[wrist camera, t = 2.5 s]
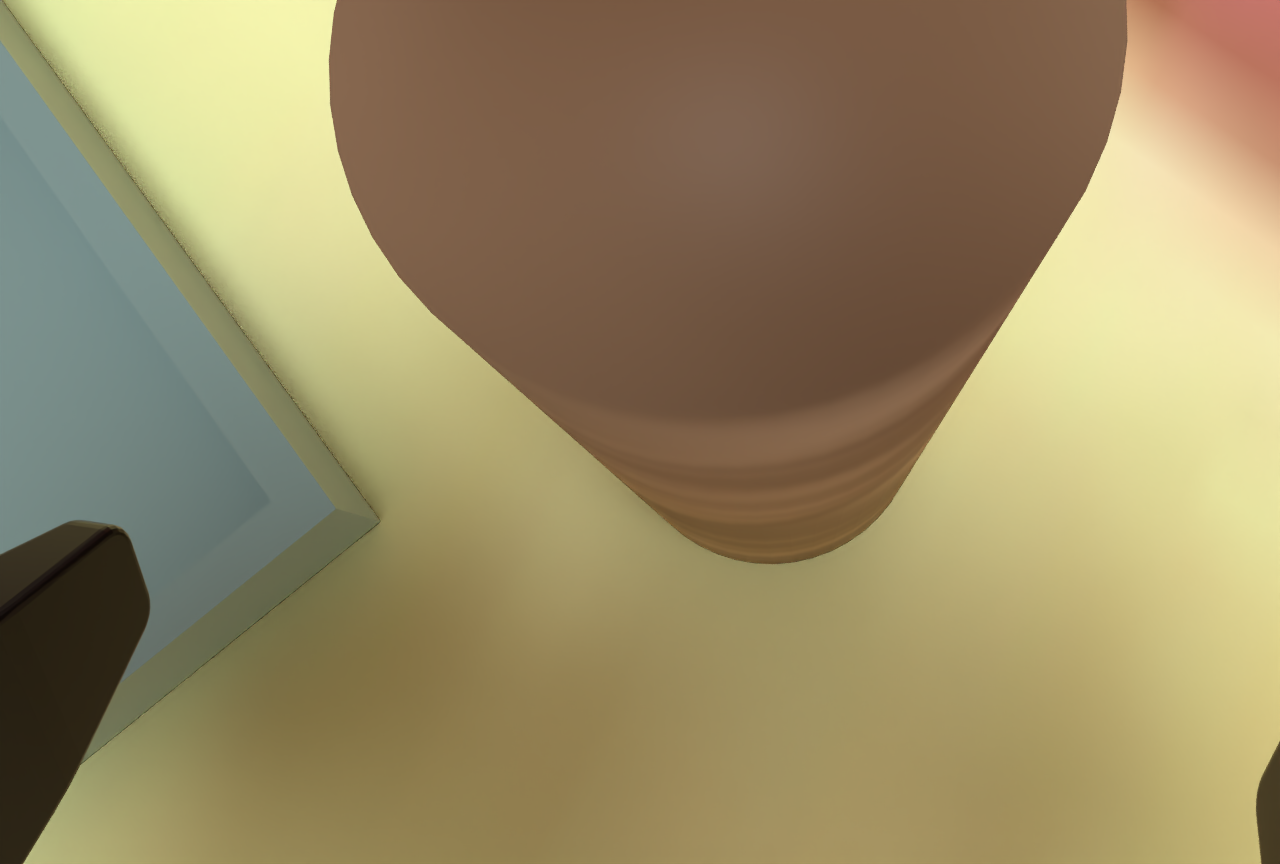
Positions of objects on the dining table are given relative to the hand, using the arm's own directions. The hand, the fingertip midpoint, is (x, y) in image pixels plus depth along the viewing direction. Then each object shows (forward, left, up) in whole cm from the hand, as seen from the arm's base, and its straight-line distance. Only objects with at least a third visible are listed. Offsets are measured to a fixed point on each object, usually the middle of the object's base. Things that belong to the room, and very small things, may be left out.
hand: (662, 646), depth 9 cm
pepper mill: (+3, +3, -11) cm, 11 cm away
